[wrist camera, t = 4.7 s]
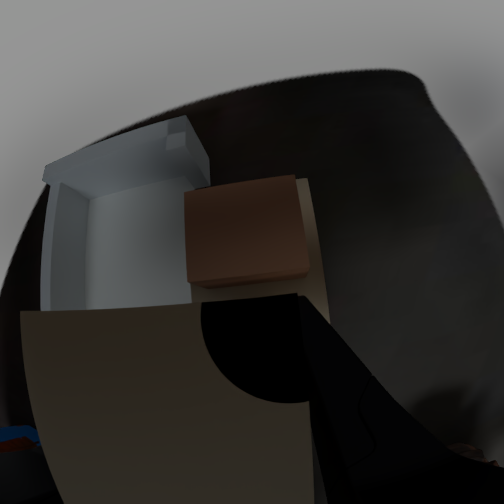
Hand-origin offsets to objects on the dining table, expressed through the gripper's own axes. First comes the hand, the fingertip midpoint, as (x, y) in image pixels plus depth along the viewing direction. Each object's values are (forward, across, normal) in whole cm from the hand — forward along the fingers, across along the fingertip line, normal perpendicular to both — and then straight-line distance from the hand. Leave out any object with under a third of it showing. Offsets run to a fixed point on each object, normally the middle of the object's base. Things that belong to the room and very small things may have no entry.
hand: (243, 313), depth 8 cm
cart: (+6, 0, +4) cm, 7 cm away
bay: (+10, +8, +2) cm, 13 cm away
